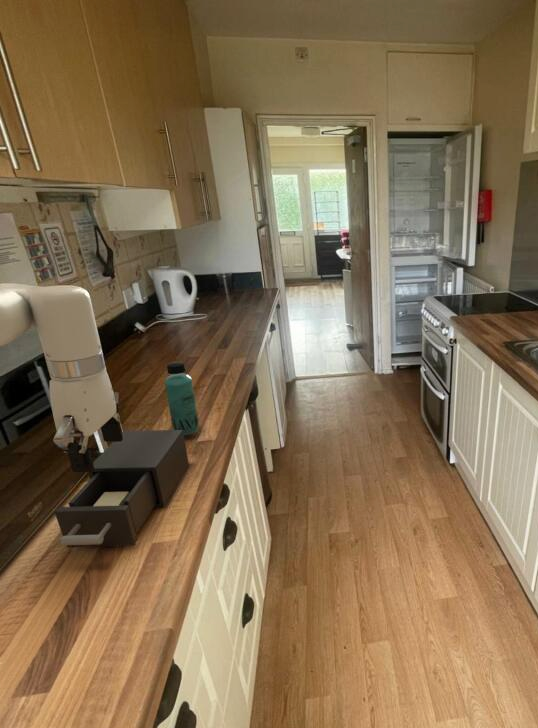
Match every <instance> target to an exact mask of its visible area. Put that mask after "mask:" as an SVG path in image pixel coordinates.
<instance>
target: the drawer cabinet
mask: <svg viewBox="0 0 538 728" xmlns="http://www.w3.org/2000/svg"><path fill="white" fill-rule="evenodd" d="M121 432H122V436H123V440H122V441H121V442H111V443H110V444H109V446H108V447H106V449H105V450H104V451H103V452H102V453H100V454H99V456H98V457H97V458H96V459H95V460H94V461H93V465H94V470H93V471H92V472H87V473H88V476H89V480H90V479H91V478H92V477H93V476H94V475H95V474H96V473H97V472H114V471H152V472H153V477H154V481H155V485H156V490H157V494H158V501H157V502H156V504H155V506H154V507H153V508H165V507H166V505H167V503H168V502H169V501H170V498H171V497H172V495H173V493H174V492H175V491H176V488H177V487H178V485H179V484H180V482H181V480H182V479H183V477H184V475H185V474H186V472H187V471H188V469H189V467H190V462H189V458H188V451H187V445H186V441H185V435H183V430H173V429H165V430H164V429H160V430H159V429H156V430H155V429H154V430H153V429H151V430H150V429H149V430H148V429H145V430H123V431H121Z"/></svg>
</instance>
